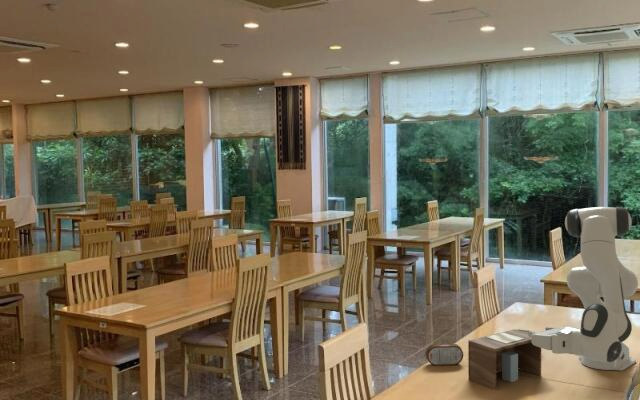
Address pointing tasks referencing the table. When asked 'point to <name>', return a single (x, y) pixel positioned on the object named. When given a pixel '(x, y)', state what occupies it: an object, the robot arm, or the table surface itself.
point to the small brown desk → (489, 355)
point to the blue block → (510, 366)
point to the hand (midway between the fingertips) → (538, 331)
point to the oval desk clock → (444, 354)
